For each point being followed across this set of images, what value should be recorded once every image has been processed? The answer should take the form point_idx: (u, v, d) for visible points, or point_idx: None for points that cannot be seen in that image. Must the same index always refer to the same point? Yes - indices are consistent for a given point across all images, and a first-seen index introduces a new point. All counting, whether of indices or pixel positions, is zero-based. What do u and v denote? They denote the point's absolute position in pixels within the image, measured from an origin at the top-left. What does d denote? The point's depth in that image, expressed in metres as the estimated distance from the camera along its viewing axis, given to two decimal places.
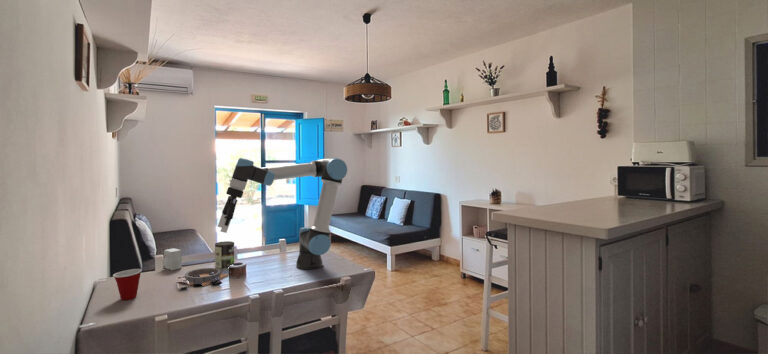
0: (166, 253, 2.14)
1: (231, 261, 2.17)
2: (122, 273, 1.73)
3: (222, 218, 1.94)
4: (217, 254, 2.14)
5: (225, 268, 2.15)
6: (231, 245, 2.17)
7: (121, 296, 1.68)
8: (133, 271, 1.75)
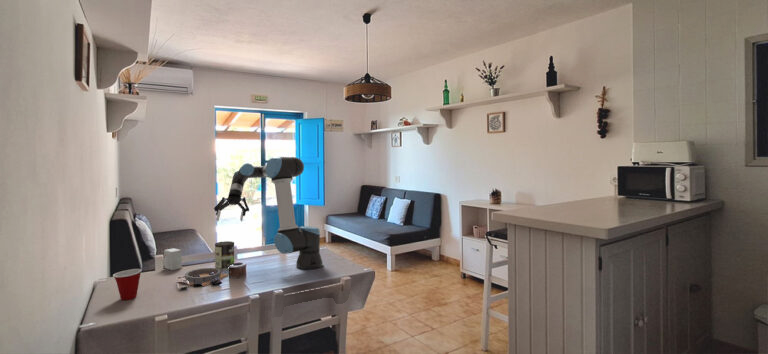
0: (166, 253, 2.14)
1: (231, 261, 2.17)
2: (122, 273, 1.73)
3: None
4: (217, 254, 2.14)
5: (225, 268, 2.15)
6: (231, 245, 2.17)
7: (121, 296, 1.68)
8: (133, 271, 1.75)
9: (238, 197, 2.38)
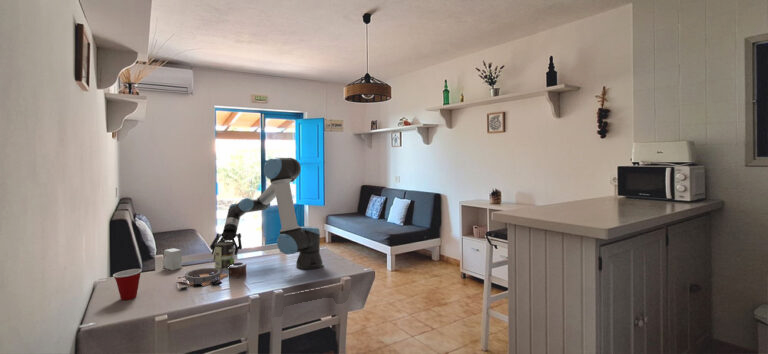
0: (166, 253, 2.14)
1: (231, 261, 2.17)
2: (122, 273, 1.73)
3: None
4: (217, 254, 2.14)
5: (225, 268, 2.15)
6: (231, 245, 2.17)
7: (121, 296, 1.68)
8: (133, 271, 1.75)
9: (233, 232, 2.27)
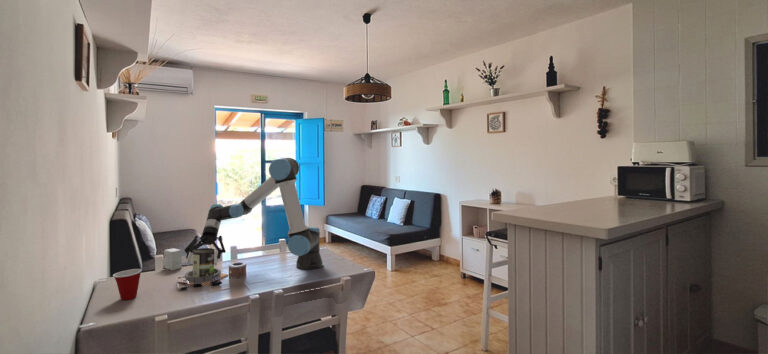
0: (166, 253, 2.14)
1: (210, 270, 1.96)
2: (122, 273, 1.73)
3: None
4: (195, 262, 1.93)
5: None
6: (211, 253, 1.95)
7: (121, 296, 1.68)
8: (133, 271, 1.75)
9: (213, 236, 2.05)
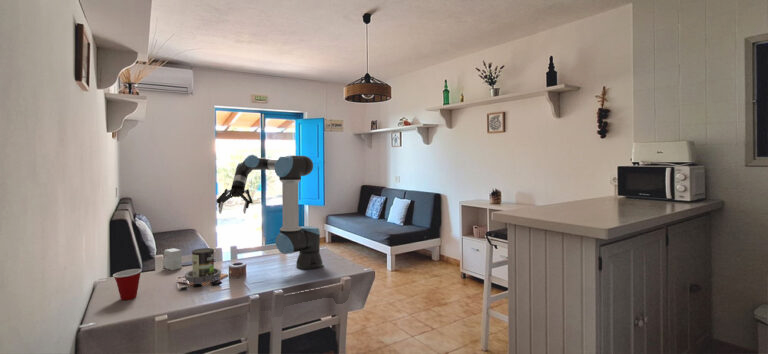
0: (166, 253, 2.14)
1: (210, 270, 1.96)
2: (122, 273, 1.73)
3: None
4: (194, 263, 1.93)
5: None
6: (210, 253, 1.95)
7: (121, 296, 1.68)
8: (133, 271, 1.75)
9: (241, 189, 2.30)
